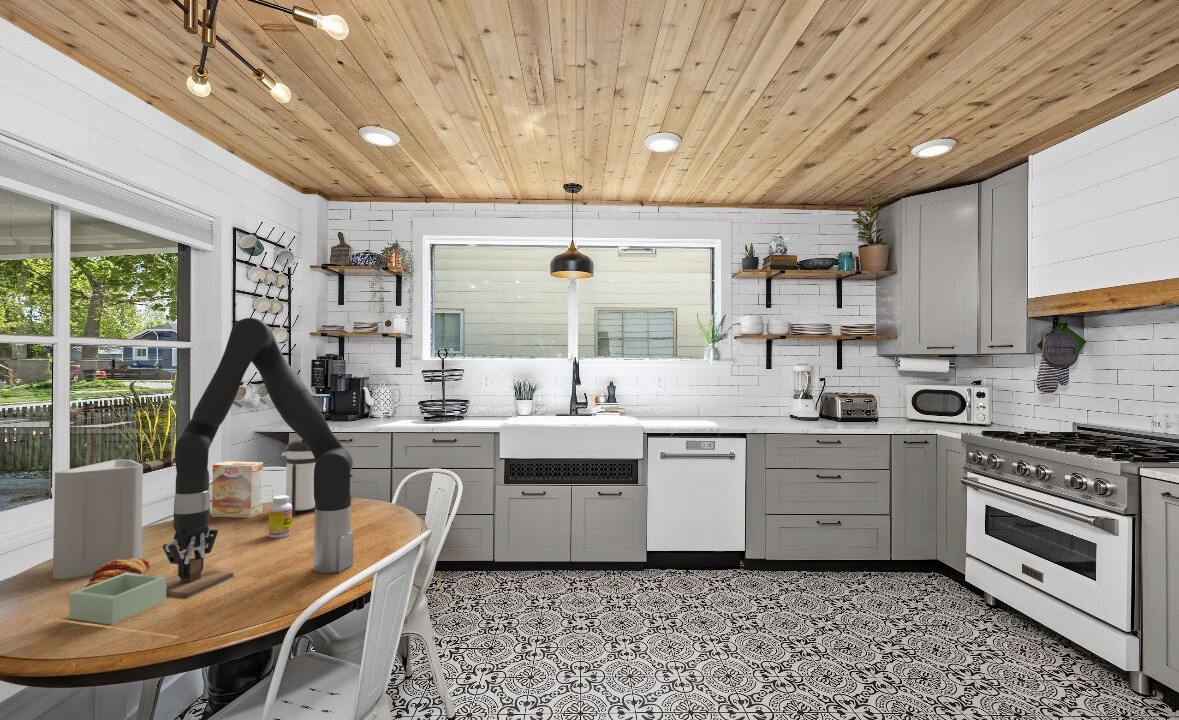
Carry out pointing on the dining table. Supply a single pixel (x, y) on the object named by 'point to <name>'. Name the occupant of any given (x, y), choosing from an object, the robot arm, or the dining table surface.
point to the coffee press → (299, 476)
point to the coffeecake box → (237, 489)
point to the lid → (195, 580)
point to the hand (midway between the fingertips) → (190, 574)
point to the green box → (117, 598)
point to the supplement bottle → (280, 517)
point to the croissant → (119, 569)
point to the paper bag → (96, 516)
